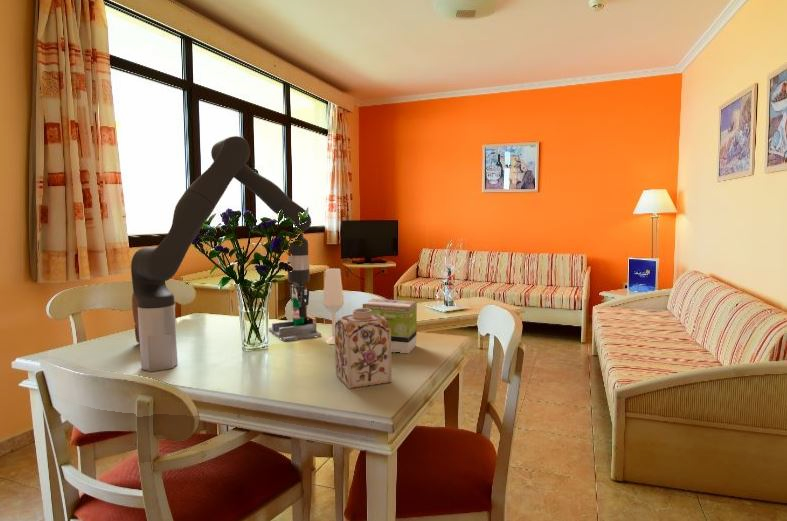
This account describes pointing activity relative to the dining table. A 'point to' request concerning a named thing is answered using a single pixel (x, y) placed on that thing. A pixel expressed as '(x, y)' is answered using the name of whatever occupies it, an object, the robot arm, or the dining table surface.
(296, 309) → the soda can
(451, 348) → the dining table surface
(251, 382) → the dining table surface
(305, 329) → the coupler bracket
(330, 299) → the champagne flute
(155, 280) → the robot arm
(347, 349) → the decorative jar
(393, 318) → the tea box
